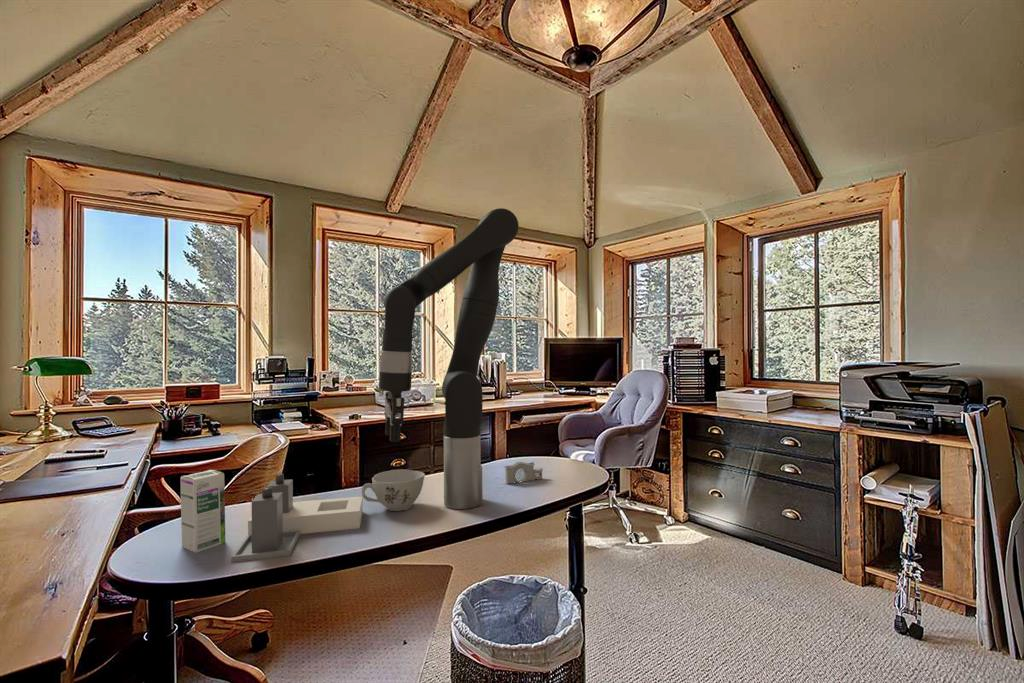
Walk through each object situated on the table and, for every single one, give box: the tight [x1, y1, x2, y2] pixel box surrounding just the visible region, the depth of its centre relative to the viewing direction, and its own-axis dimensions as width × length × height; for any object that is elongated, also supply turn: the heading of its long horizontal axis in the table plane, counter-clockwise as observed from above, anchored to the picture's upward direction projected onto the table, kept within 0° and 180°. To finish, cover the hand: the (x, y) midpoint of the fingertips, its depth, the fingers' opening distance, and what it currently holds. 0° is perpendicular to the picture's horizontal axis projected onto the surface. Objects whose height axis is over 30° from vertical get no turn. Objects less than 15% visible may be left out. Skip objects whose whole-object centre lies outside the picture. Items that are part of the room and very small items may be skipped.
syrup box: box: [180, 469, 226, 554], centre depth 95 cm, size 6×6×14 cm
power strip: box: [247, 473, 364, 535], centre depth 105 cm, size 22×10×12 cm, turn 104°
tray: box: [230, 530, 301, 563], centre depth 94 cm, size 10×10×1 cm
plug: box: [251, 487, 283, 553], centre depth 94 cm, size 4×4×12 cm
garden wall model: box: [504, 461, 544, 485], centre depth 138 cm, size 12×2×6 cm, turn 117°
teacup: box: [361, 468, 426, 512], centre depth 116 cm, size 15×12×8 cm
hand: (392, 438), depth 113 cm, fingers open, 8 cm apart
